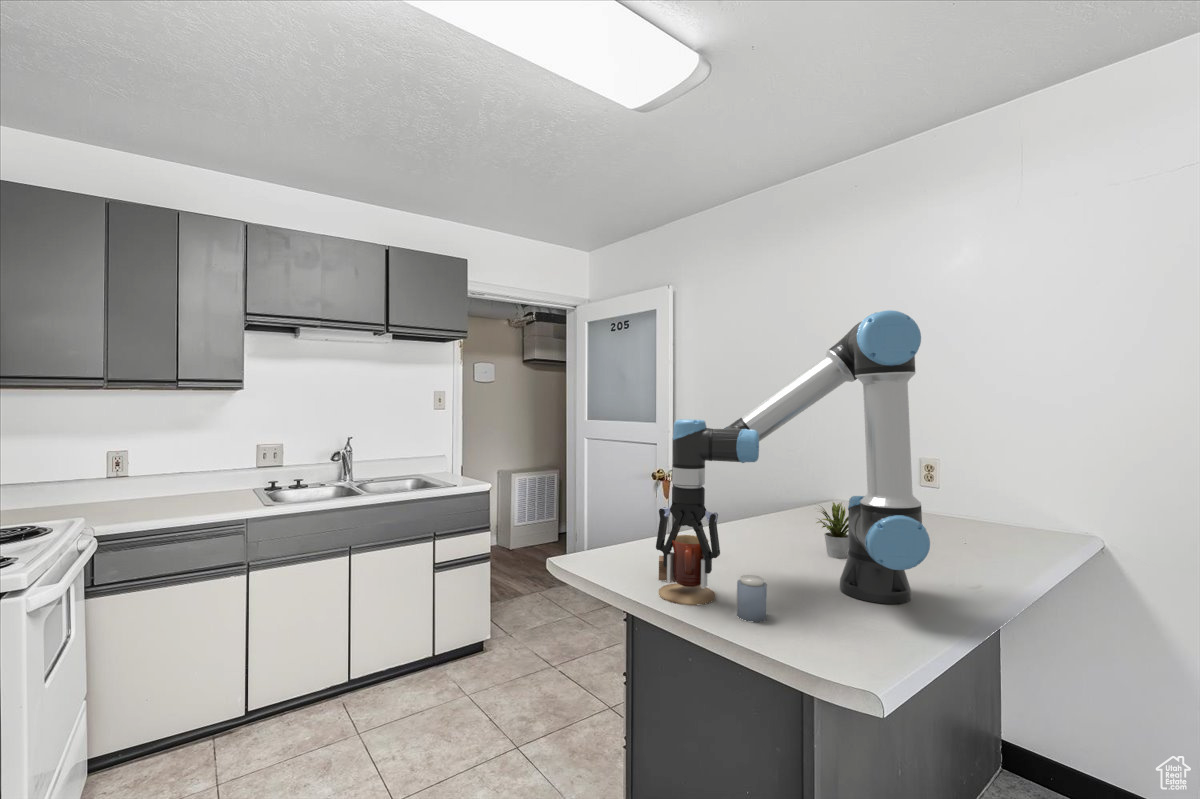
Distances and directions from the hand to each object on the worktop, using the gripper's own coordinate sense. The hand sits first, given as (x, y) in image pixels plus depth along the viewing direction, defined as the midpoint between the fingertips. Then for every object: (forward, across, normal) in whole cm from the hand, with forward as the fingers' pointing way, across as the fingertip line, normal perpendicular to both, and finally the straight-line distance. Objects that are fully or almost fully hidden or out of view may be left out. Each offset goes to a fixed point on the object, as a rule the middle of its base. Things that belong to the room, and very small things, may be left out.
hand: (686, 583), depth 129 cm
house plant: (+3, -28, -55) cm, 62 cm away
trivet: (+3, 0, 0) cm, 3 cm away
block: (+3, +8, -10) cm, 13 cm away
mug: (0, 0, 0) cm, 1 cm away
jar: (+3, -16, +6) cm, 17 cm away
